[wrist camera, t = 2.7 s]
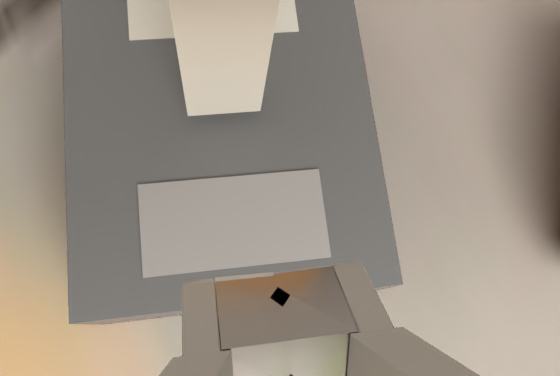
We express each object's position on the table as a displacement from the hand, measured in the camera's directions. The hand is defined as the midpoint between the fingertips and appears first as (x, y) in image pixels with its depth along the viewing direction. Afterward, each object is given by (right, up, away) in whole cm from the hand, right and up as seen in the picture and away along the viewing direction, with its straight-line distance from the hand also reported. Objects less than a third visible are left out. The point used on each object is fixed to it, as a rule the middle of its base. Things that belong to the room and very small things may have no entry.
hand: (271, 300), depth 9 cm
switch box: (-3, +4, +21) cm, 22 cm away
